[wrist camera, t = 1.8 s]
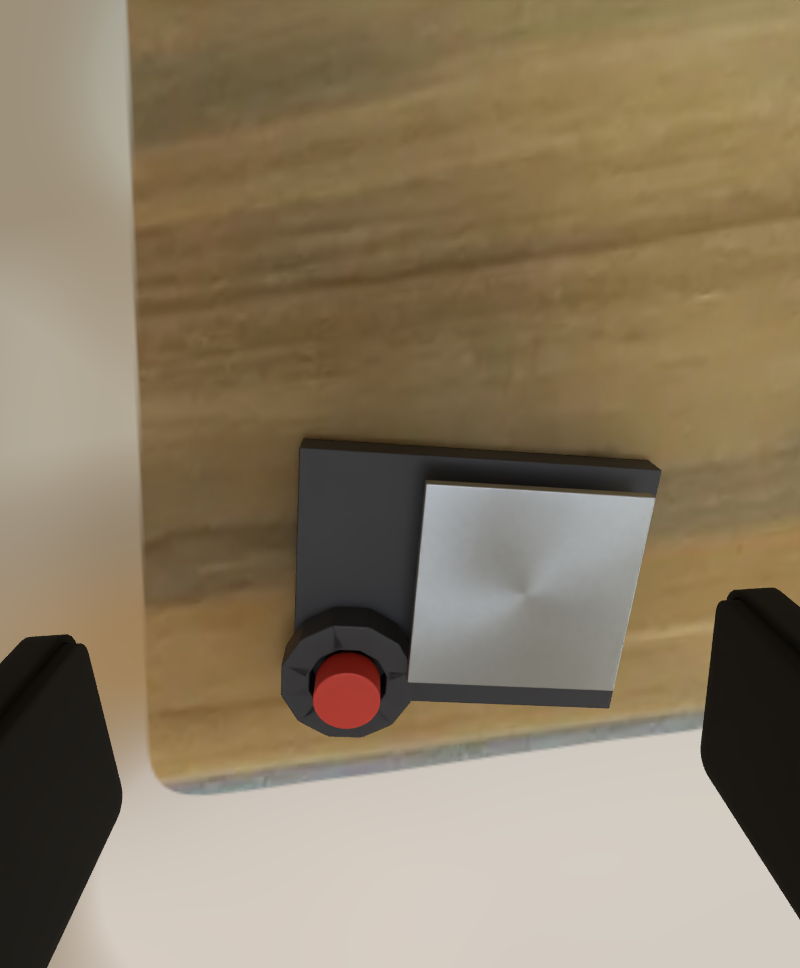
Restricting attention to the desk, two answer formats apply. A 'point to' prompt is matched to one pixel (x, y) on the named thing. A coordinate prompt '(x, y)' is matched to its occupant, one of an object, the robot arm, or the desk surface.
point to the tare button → (347, 690)
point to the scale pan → (525, 584)
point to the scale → (402, 562)
